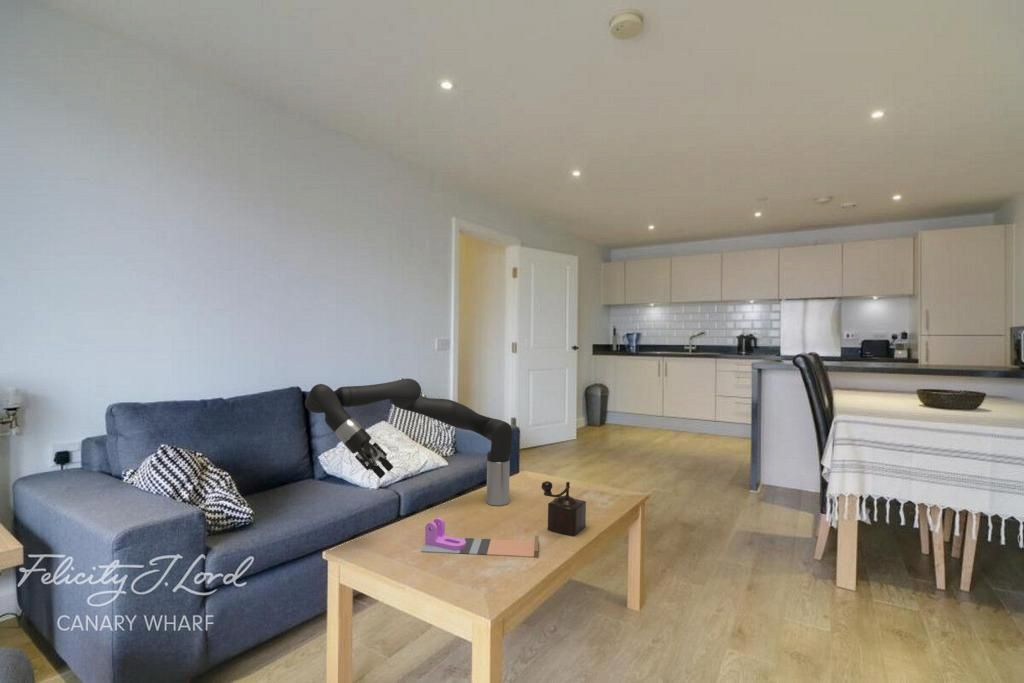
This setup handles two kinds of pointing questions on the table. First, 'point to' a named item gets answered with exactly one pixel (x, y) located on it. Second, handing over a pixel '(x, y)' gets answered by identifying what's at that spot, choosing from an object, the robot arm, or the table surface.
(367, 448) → the robot arm
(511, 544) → the lane
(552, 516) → the manual coffee grinder
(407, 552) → the table surface
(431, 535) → the bracket
